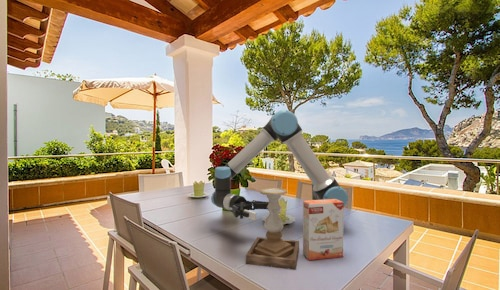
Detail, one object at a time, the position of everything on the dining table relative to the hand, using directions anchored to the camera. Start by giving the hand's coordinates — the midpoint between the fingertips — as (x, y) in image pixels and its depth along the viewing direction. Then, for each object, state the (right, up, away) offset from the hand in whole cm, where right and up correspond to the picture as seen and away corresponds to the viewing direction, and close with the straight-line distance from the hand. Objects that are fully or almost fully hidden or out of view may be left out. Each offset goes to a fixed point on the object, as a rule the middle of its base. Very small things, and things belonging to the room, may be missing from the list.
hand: (268, 213), depth 98 cm
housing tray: (+2, -16, -1) cm, 16 cm away
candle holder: (+2, -15, -1) cm, 15 cm away
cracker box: (+20, -16, -2) cm, 26 cm away
